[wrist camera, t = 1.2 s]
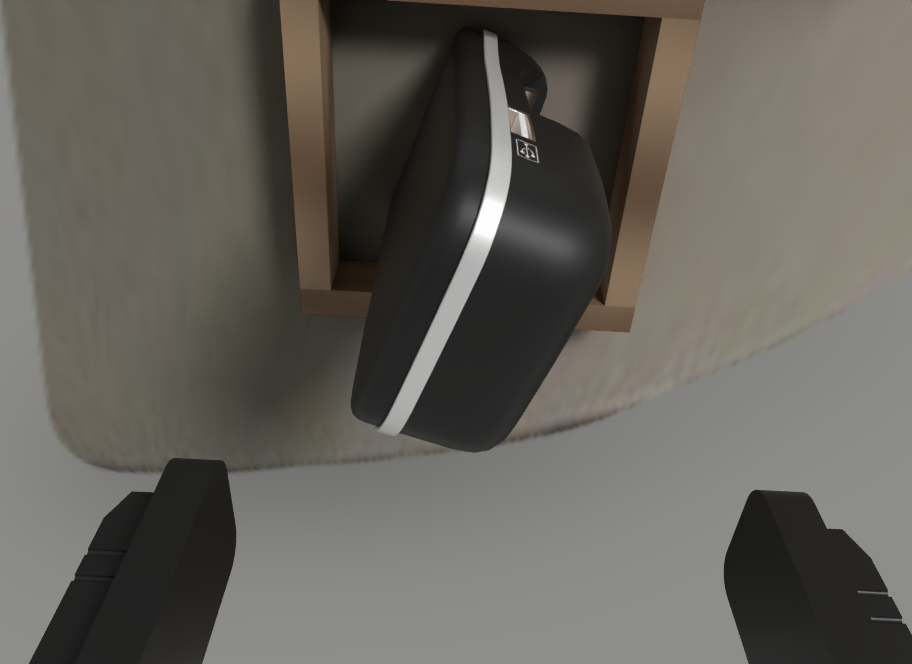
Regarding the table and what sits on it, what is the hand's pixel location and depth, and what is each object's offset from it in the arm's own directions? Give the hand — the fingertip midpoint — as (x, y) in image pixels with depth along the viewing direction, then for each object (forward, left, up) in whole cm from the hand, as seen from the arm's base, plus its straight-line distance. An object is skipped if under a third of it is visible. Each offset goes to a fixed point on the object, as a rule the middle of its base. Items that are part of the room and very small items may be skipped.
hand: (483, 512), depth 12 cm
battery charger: (0, 0, -15) cm, 15 cm away
